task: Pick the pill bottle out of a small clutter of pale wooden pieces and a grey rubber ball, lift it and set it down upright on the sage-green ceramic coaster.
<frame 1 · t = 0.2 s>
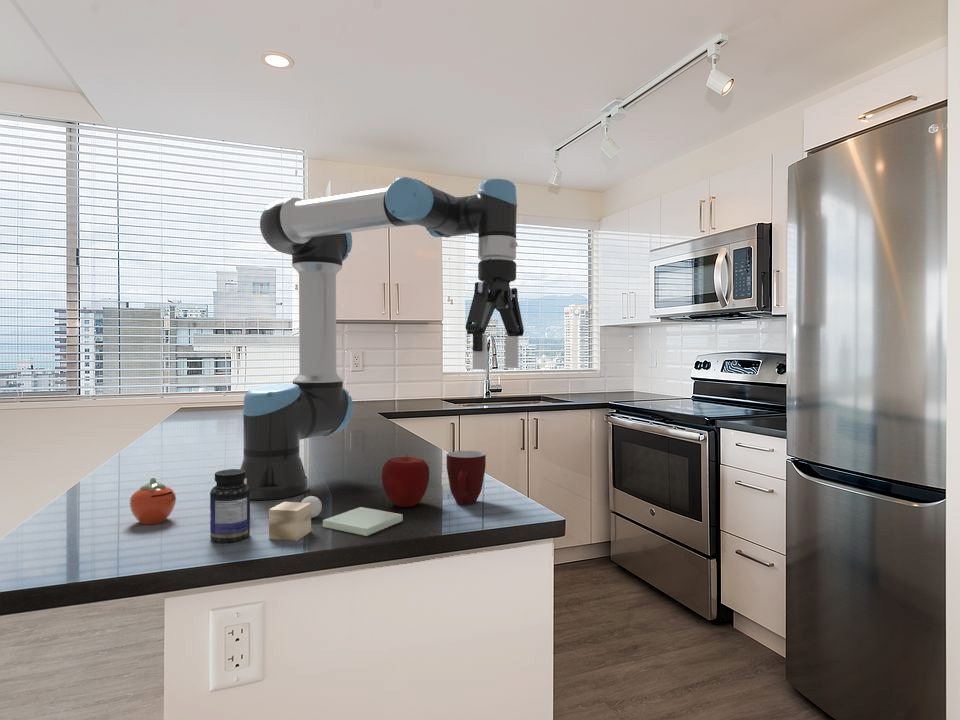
hand: (496, 368, 114), 28 cm above the worktop, fingers open, 13 cm apart
oak cylinder: (232, 517, 108), on the worktop
mug: (465, 504, 118), on the worktop
maple block: (290, 535, 98), on the worktop
apple: (405, 506, 117), on the worktop
pill bottle: (230, 538, 96), on the worktop
coaster: (363, 523, 104), on the worktop
grey ball: (310, 517, 108), on the worktop
tomato: (153, 522, 105), on the worktop
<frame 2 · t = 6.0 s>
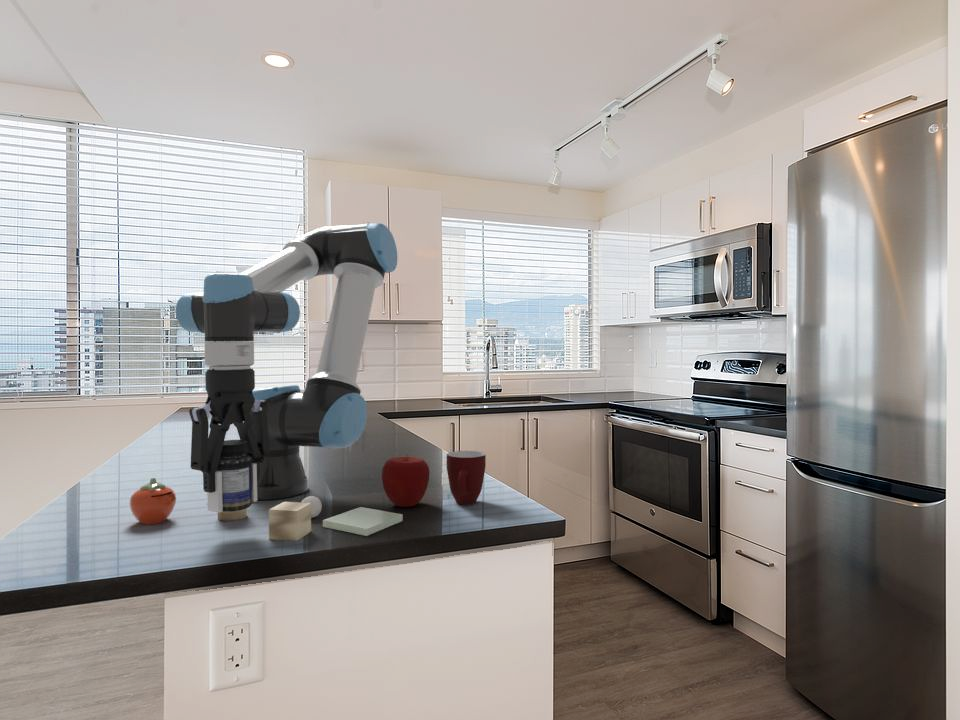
hand: (233, 505, 97), 5 cm above the worktop, fingers closed on pill bottle, 6 cm apart
pill bottle: (233, 508, 97), point 5 cm above the worktop, touching gripper
everything else where it was.
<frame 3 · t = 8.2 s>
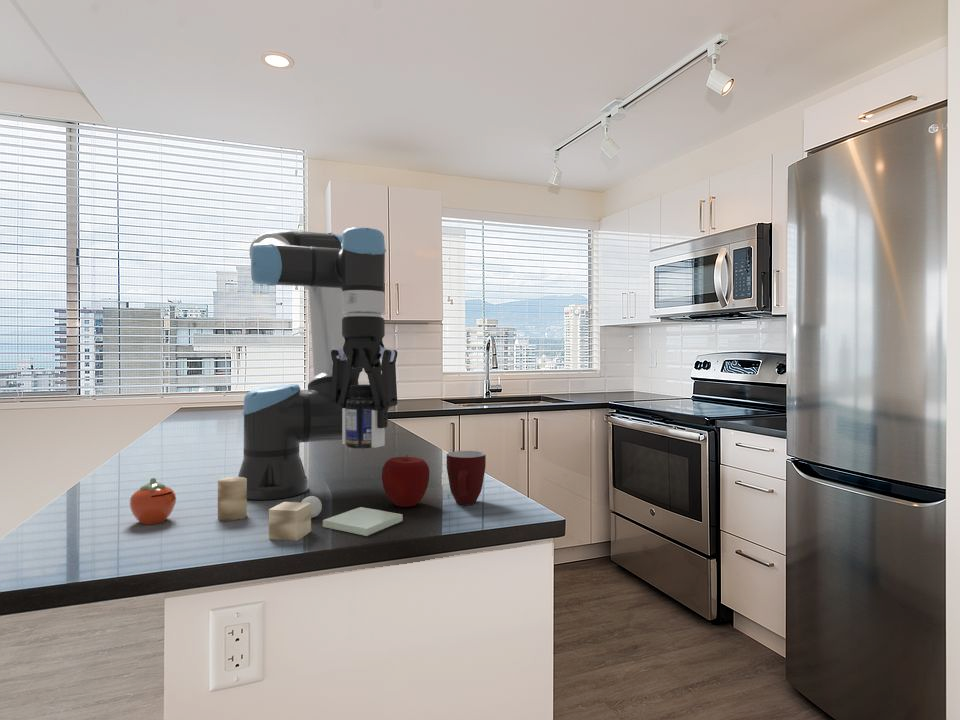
hand: (363, 444, 104), 14 cm above the worktop, fingers closed on pill bottle, 6 cm apart
pill bottle: (363, 447, 104), point 14 cm above the worktop, touching gripper
everything else where it was.
when the fingers open (3 cm above the worktop, at t = 10.6 s): pill bottle drops 1 cm, resting on coaster.
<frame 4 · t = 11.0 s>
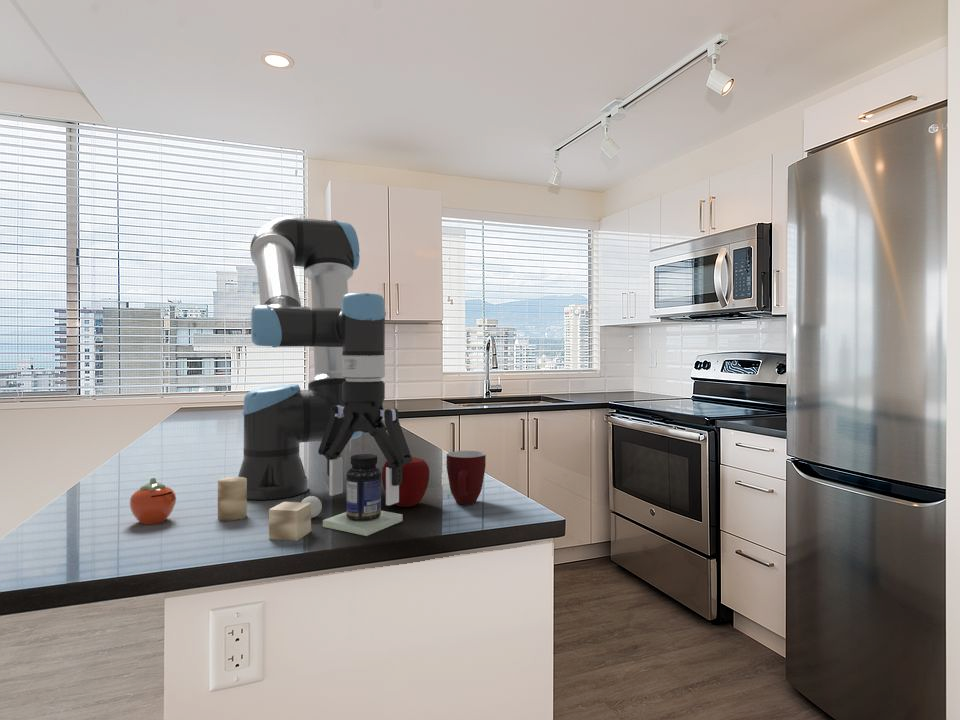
hand: (363, 498, 104), 5 cm above the worktop, fingers open, 12 cm apart
pill bottle: (363, 518, 104), point 1 cm above the worktop, touching coaster
everything else where it was.
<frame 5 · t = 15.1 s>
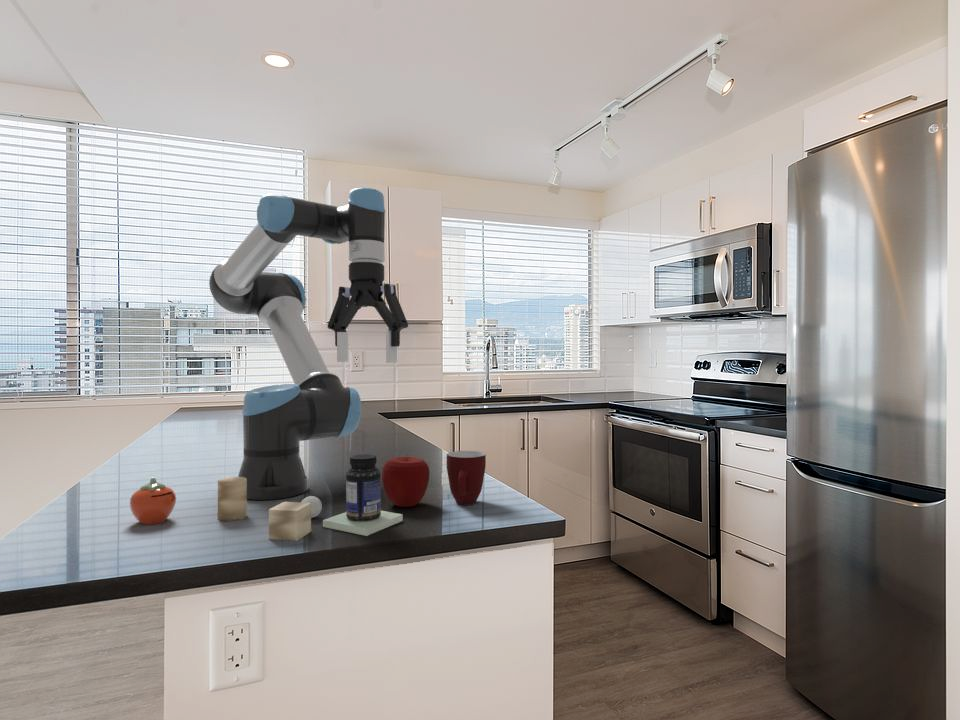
hand: (366, 362, 124), 29 cm above the worktop, fingers open, 13 cm apart
nothing on the worktop moved.
at the end: pill bottle 0.0 cm from the coaster (horizontally); pill bottle tilted 0°; the gripper is holding nothing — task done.
